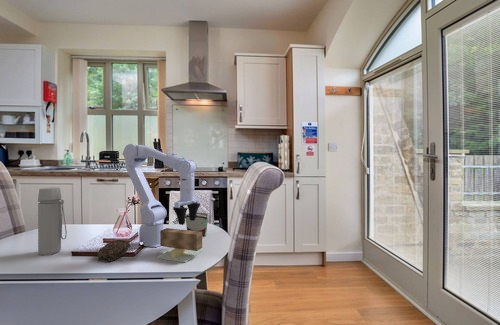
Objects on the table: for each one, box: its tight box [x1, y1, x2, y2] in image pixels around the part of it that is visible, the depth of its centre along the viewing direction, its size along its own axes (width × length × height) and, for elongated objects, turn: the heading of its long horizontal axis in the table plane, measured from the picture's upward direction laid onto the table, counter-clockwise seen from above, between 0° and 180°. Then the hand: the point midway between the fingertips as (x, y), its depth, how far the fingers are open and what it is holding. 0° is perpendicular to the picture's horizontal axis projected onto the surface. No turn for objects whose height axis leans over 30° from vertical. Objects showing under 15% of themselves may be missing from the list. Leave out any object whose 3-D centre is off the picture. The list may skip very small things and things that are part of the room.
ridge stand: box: [157, 248, 204, 263], centre depth 100 cm, size 12×12×3 cm
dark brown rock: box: [97, 239, 131, 263], centre depth 99 cm, size 12×10×5 cm
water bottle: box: [37, 186, 68, 256], centre depth 102 cm, size 9×8×25 cm
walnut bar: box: [159, 227, 203, 251], centre depth 100 cm, size 16×4×6 cm, turn 70°
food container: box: [185, 212, 210, 238], centre depth 129 cm, size 12×6×10 cm, turn 74°
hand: (187, 222), depth 109 cm, fingers open, 7 cm apart
